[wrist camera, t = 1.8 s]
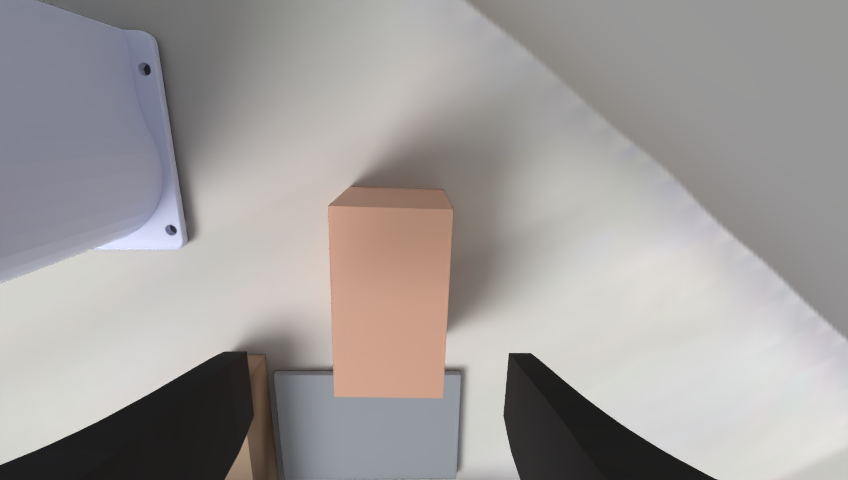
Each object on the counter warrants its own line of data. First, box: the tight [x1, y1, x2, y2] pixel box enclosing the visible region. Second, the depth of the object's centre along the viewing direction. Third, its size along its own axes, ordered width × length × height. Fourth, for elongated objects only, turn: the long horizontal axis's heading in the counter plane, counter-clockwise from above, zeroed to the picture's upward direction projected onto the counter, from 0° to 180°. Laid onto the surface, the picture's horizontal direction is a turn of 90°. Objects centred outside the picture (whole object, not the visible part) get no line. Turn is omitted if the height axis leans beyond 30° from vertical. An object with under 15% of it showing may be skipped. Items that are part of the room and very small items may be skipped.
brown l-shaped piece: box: [225, 355, 279, 480], centre depth 21 cm, size 12×16×3 cm
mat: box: [274, 371, 461, 480], centre depth 22 cm, size 7×10×1 cm
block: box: [328, 187, 453, 398], centre depth 18 cm, size 8×4×5 cm, turn 178°
